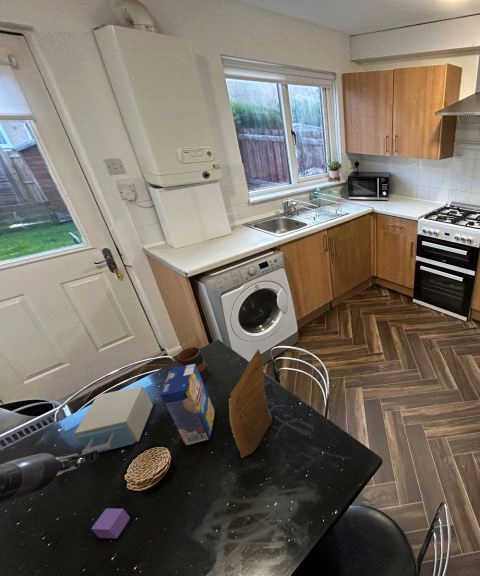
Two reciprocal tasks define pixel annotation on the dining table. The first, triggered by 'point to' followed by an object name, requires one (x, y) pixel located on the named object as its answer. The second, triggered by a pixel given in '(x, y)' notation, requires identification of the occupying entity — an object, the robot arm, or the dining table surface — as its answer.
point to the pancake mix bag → (249, 407)
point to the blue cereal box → (188, 403)
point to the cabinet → (118, 411)
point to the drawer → (106, 438)
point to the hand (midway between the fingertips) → (76, 459)
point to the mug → (193, 360)
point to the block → (110, 523)
